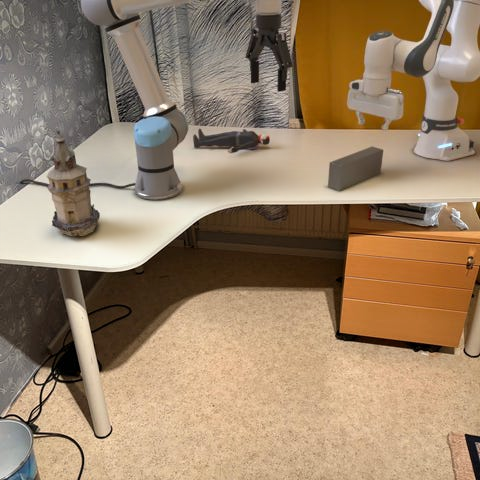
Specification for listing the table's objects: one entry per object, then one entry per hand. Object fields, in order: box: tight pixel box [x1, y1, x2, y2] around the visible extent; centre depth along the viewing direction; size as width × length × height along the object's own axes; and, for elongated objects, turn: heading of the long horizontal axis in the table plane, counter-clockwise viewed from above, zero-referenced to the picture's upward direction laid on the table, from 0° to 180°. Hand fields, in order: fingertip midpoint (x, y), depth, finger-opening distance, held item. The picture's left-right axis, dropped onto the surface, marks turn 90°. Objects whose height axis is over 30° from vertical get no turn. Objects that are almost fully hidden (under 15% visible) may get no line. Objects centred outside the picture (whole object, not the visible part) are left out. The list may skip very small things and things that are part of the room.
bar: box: [327, 145, 384, 192], centre depth 182 cm, size 23×5×9 cm, turn 131°
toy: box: [192, 128, 271, 155], centre depth 214 cm, size 26×6×30 cm
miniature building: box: [46, 129, 101, 237], centre depth 148 cm, size 13×14×30 cm
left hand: (267, 86), depth 167 cm, fingers open, 13 cm apart
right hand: (372, 127), depth 180 cm, fingers open, 8 cm apart
